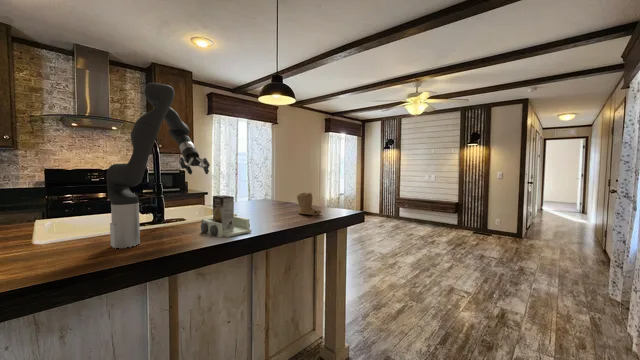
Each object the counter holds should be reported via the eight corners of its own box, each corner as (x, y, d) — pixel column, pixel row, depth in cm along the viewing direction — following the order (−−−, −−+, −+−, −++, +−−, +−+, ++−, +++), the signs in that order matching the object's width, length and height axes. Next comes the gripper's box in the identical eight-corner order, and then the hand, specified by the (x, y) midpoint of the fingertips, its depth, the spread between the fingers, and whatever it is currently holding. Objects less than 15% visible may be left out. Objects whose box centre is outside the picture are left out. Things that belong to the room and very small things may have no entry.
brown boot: (293, 214, 188) (293, 192, 187) (305, 212, 197) (305, 191, 196) (309, 217, 178) (309, 193, 177) (321, 214, 187) (322, 192, 186)
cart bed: (221, 239, 124) (221, 225, 123) (199, 231, 137) (199, 219, 137) (256, 231, 138) (256, 219, 137) (233, 225, 151) (233, 214, 151)
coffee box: (212, 228, 139) (212, 195, 138) (224, 226, 144) (223, 194, 143) (222, 230, 133) (222, 197, 132) (234, 228, 138) (234, 196, 137)
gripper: (177, 145, 144) (187, 168, 137) (204, 147, 154) (214, 168, 148) (173, 156, 147) (183, 178, 140) (199, 156, 158) (210, 177, 151)
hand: (199, 173), depth 144 cm, fingers open, 8 cm apart
